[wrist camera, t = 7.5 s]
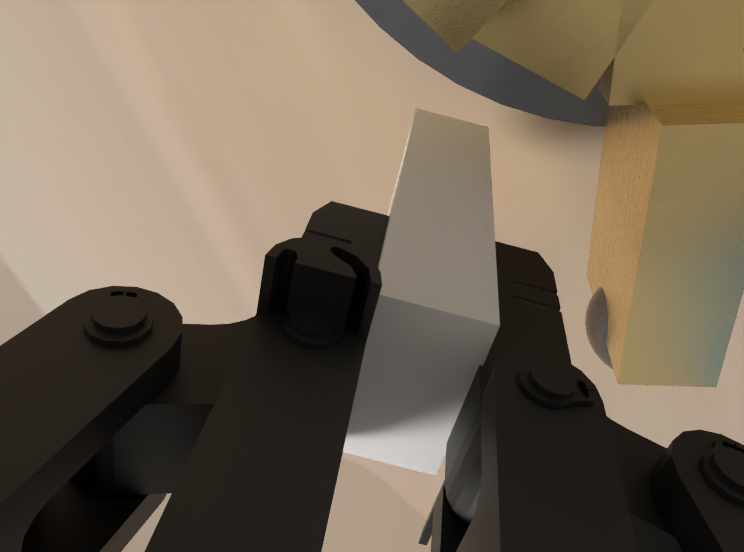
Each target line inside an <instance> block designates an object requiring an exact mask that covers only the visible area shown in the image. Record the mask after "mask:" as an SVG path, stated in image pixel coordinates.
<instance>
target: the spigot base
mask: <svg viewBox="0 0 744 552" xmlns="http://www.w3.org/2000/svg"><path fill="white" fill-rule="evenodd" d="M355 1H356V2H357V3H358V4H359V5H360V6H361V7H362V8H363V9H364V10H365V11H366V13H367V14H368V15H369V16H370V17H371V18H372V19H373V20H374V21H375V22H376V23H377V24H378V26H379V27H380V28H382V29H383V30H384V31H385V32H386V33H388V34H389V35H390V36H391V37H392V38H394V39H395V40H396V41H397V42H398V43H400V44H401V45H402V46H403V47H404V48H405V49H407V50H408V51H409V52H410V53H411V54H413V55H414V56H415V57H416V58H417V59H419V60H420V61H422V62H424V63H425V64H427V65H428V66H430V67H431V68H433V69H435V70H436V71H438V72H439V73H441V74H443V75H444V76H446V77H447V78H449V79H450V80H452V81H454V82H455V83H457V84H458V85H460V86H463V87H465V88H467V89H469V90H471V91H473V92H476V93H478V94H480V95H482V96H484V97H487V98H489V99H491V100H493V101H495V102H497V103H500V104H502V105H505V106H509V107H512V108H515V109H518V110H522V111H525V112H528V113H532V114H535V115H538V116H541V117H545V118H549V119H555V120H561V121H567V122H573V123H579V124H585V125H591V126H605V123H606V115H607V107H608V103H607V102H606V100H605V98H604V96H603V94H602V93H601V91H600V89H599V87H598V85H597V84H595V86H594V87H593V89H592V90H591V92H590V93H589V94H588V96H587V97H586V99H585V100H583V99H581V98H580V97H578V96H576V95H574V94H572V93H570V92H569V91H567V90H565V89H563V88H561V87H560V86H558V85H556V84H554V83H552V82H550V81H549V80H547V79H545V78H543V77H541V76H540V75H538V74H536V73H534V72H532V71H530V70H529V69H527V68H525V67H523V66H521V65H520V64H518V63H516V62H514V61H512V60H510V59H509V58H507V57H505V56H503V55H501V54H500V53H498V52H496V51H494V50H492V49H490V48H489V47H487V46H485V45H483V44H481V43H480V42H478V41H476V40H474V39H471V40H470V41H469V42H468V43H467V44H466V45H465V46H464V47H463V48H462V50H461V51H460V52H459V53H458V54H457V53H456V52H455V51H454V50H453V49H452V48H451V47H450V46H449V45H448V44H447V43H446V42H445V41H444V40H443V39H442V38H441V37H440V36H439V35H438V34H437V33H436V32H435V31H434V30H433V29H432V28H430V27H429V26H428V25H427V24H426V23H425V22H424V21H423V20H422V19H421V18H420V17H419V16H418V15H417V14H416V13H415V12H414V11H413V10H412V9H411V8H410V7H409V6H408V5H407V4H406V3H405V2H404V1H403V0H355Z"/></svg>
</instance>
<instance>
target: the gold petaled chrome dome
mask: <svg viewBox="0 0 744 552" xmlns="http://www.w3.org/2000/svg"><path fill="white" fill-rule="evenodd" d="M403 1H404V2H405V3H406V4H407V5H408V6H409V7H410V8H411V9H412V10H413V11H414V12H415V13H416V14H417V15H418V16H419V17H420V18H421V19H422V20H423V21H424V22H425V23H426V24H427V25H428V26H429V27H430V28H432V29H433V30H434V31H435V32H436V33H437V34H438V35H439V36H440V37H441V38H442V39H443V40H444V41H445V42H446V43H447V44H448V45H449V46H450V47H451V48H452V49H453V50H454V51H455V52H456V53H457V54H458V53H459V52H460V51H461V50H462V48H463V47H464V46H465V45H466V44H467V43H468V42H469V41H470V40H471V39H474V40H476V41H478V42H480V43H481V44H483V45H485V46H487V47H489V48H490V49H492V50H494V51H496V52H498V53H500V54H501V55H503V56H505V57H507V58H509V59H510V60H512V61H514V62H516V63H518V64H520V65H521V66H523V67H525V68H527V69H529V70H530V71H532V72H534V73H536V74H538V75H540V76H541V77H543V78H545V79H547V80H549V81H550V82H552V83H554V84H556V85H558V86H560V87H561V88H563V89H565V90H567V91H569V92H570V93H572V94H574V95H576V96H578V97H580V98H581V99H583V100H585V99H586V97H587V96H588V94H589V93H590V92H591V90H592V89H593V87H594V86H595V84H597V85H598V87H599V89H600V91H601V93H602V94H603V96H604V98H605V100H606V102H607V103H608V107H607V115H606V123H605V131H604V139H603V147H602V155H601V164H600V172H599V180H598V188H597V196H596V204H595V212H594V220H593V228H592V236H591V245H590V253H589V261H588V269H587V276H588V280H589V284H590V287H591V291H592V294H593V296H592V298H591V300H590V303H589V305H588V308H587V312H586V322H585V324H586V332H587V336H588V339H589V342H590V344H591V346H592V348H593V350H594V351H595V353H596V354H597V356H598V357H599V358H600V359H601V360H602V361H603V362H604V363H605V364H606V365H608V366H609V367H610V368H612V369H613V370H614V373H615V377H616V381H617V384H634V385H666V386H697V387H716V386H717V383H718V379H719V375H720V372H721V368H722V365H723V361H724V358H725V354H726V351H727V347H728V343H729V340H730V336H731V333H732V329H733V326H734V322H735V319H736V315H737V311H738V308H739V304H740V301H741V297H742V294H743V290H744V0H403Z"/></svg>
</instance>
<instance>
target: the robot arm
mask: <svg viewBox="0 0 744 552" xmlns="http://www.w3.org/2000/svg"><path fill="white" fill-rule="evenodd" d="M556 294H557V288H556V283H555V278H554V273H553V271H552V270H551V269H550V267H549V266H548V265H547V263H546V262H545V261H544V259H543V258H542V257H541V256H540V254H539V253H538V252H534V251H530V250H526V249H523V248H519V247H515V246H511V245H507V244H503V243H500V242H496V241H495V232H494V215H493V198H492V181H491V164H490V147H489V130H488V127H485V126H482V125H478V124H474V123H470V122H466V121H462V120H459V119H455V118H451V117H447V116H443V115H439V114H436V113H432V112H428V111H424V110H420V109H417V108H416V110H415V113H414V117H413V121H412V125H411V128H410V132H409V136H408V140H407V143H406V147H405V151H404V155H403V159H402V162H401V166H400V170H399V174H398V177H397V181H396V185H395V189H394V192H393V196H392V200H391V204H390V207H389V211H388V215H383V214H379V213H375V212H371V211H367V210H364V209H360V208H356V207H352V206H348V205H344V204H341V203H337V202H333V201H331V202H330V203H328V204H326V205H325V206H323V207H321V208H320V209H318V210H316V211H315V212H313V214H312V216H311V218H310V220H309V223H308V225H307V227H306V229H305V232H304V234H303V236H302V238H292V239H289V240H287V241H284V242H281V243H279V244H276V245H275V246H274V247H273V248H272V249H271V250H270V251H269V252H268V253H267V254H266V255H265V261H264V267H263V274H262V281H261V288H260V294H259V301H258V308H257V314H256V316H254V317H252V318H250V319H247V320H245V321H240V322H236V323H231V324H218V325H202V324H182V316H181V314H180V313H179V311H178V309H177V308H176V306H175V305H174V303H172V302H171V301H169V300H168V299H166V298H165V297H163V296H161V295H160V294H158V293H156V292H152V291H149V290H145V289H142V288H138V287H124V286H110V287H105V288H99V289H94V290H89V291H87V292H84V293H82V294H80V295H78V296H76V297H74V298H72V299H69V300H68V301H66V302H65V303H63V304H62V305H60V306H59V307H57V308H56V309H54V310H53V311H51V312H50V313H48V314H47V315H45V316H44V317H42V318H41V319H39V320H38V321H37V322H35V323H33V324H32V325H31V326H29V327H28V328H26V329H25V330H23V331H22V332H20V333H19V334H18V335H16V336H14V337H13V338H11V339H10V340H8V341H7V342H5V343H4V344H2V345H1V346H0V552H121V551H122V550H123V549H124V547H125V546H126V545H127V544H128V542H129V541H130V540H131V539H132V538H133V536H134V535H135V534H136V533H137V532H138V530H139V529H140V528H141V527H142V525H143V524H144V523H145V522H146V520H148V518H149V517H150V516H151V514H152V513H153V512H154V511H155V510H156V509H157V507H158V506H159V505H160V504H161V503H162V501H163V500H164V498H165V496H166V494H167V493H172V495H171V497H170V499H169V501H168V503H167V505H166V507H165V509H164V512H163V514H162V516H161V518H160V520H159V523H158V525H157V526H156V529H155V531H154V533H153V535H152V537H151V539H150V541H149V543H148V546H147V548H146V550H145V552H321V549H322V546H323V541H324V536H325V532H326V527H327V522H328V518H329V513H330V508H331V504H332V499H333V495H334V489H335V485H336V481H337V476H338V471H339V467H340V462H341V457H342V453H343V452H345V453H349V454H353V455H357V456H361V457H365V458H369V459H373V460H376V461H380V462H384V463H388V464H392V465H396V466H400V467H404V468H408V469H412V470H416V471H420V472H423V473H427V474H431V475H435V476H436V475H437V472H438V470H439V468H440V465H441V463H442V461H443V458H444V456H445V454H446V468H445V480H444V483H443V485H442V487H441V490H440V492H439V494H438V496H437V499H436V501H435V503H434V505H433V508H432V510H431V512H430V514H429V517H428V519H427V521H426V524H425V526H424V528H423V531H422V534H421V537H420V540H419V543H420V544H423V545H427V543H428V541H429V539H430V537H431V534H432V542H431V552H744V445H742V444H740V443H738V442H736V441H734V440H732V439H730V438H728V437H725V436H723V435H721V434H717V433H713V432H708V431H704V430H693V431H685V432H682V433H681V434H680V435H679V436H678V437H676V438H675V439H674V440H673V441H672V443H671V444H670V445H669V447H668V448H665V447H663V446H661V445H658V444H656V443H654V442H652V441H650V440H648V439H646V438H644V437H642V436H640V435H638V434H636V433H634V432H632V431H630V430H628V429H626V428H625V427H623V426H621V425H620V424H618V423H616V422H614V421H613V420H611V419H610V418H608V417H607V416H606V413H605V409H604V404H603V401H602V399H601V397H600V395H599V392H598V390H597V388H596V386H595V385H594V384H593V383H592V382H591V381H590V380H589V379H588V378H587V376H586V375H585V374H584V373H583V372H582V371H581V370H579V369H577V368H576V367H574V366H573V365H572V364H571V359H570V354H569V349H568V344H567V339H566V334H565V329H564V324H563V318H562V313H561V312H559V311H560V303H559V298H558V296H557V295H556Z"/></svg>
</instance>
